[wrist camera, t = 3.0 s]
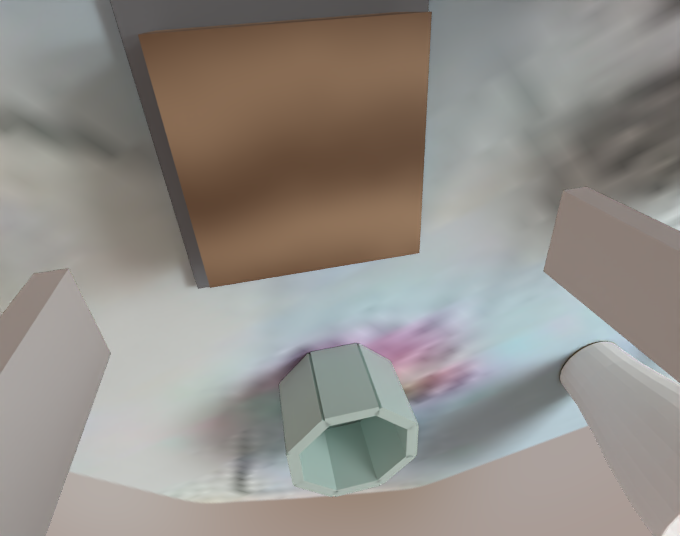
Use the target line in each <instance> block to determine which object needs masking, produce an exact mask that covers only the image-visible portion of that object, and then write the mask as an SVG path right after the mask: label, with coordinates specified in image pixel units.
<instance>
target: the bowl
mask: <svg viewBox="0 0 680 536" xmlns="http://www.w3.org/2000/svg"><path fill="white" fill-rule="evenodd" d="M310 353H311V355H310V354H307V355H306V356H305V357H304V358H303V359H302V360H301V361H300V362H299V363H298V364H297V365H296V366H295V367H294V368H293V369H292V370H291V371H290V372H289V374H288V375H287V376H286V377H285V378H284V379H283V380H282V381H281V382H280V383H279V393H280V402H281V411H282V420H283V429H284V438H285V447H286V456H287V460H288V465H289V469H290V474H291V478H292V483H293V485H294V486H295V487H298V488H302V489H305V490H309V491H312V492H316V493H319V494H323V495H326V496H330V497H333V496H335V497H337V496H341V495H345V494H349V493H353V492H357V491H361V490H365V489H369V488H373V487H377V486H380V484H384V483H385V482H386V481H388V480H389V479H390V478H391V477H392V476H394V475H395V474H396V473H397V472H398V471H400V470H401V469H402V468H403V467H404V466H406V465H407V464H408V463H409V462H410V461H412V460H413V459H414V458H415V456H417V442H418V427H419V425H418V422H417V420H416V418H415V415H414V413H413V411H412V409H411V406H410V404H409V402H408V400H407V397H406V395H405V393H404V390H403V388H402V386H401V384H400V381H399V379H398V377H397V374H396V372H395V370H394V368H393V365H392V363H391V361H390V360H388V359H386V358H385V357H383V356H381V355H379V354H377V353H375V352H374V351H372V350H370V349H368V348H366V347H364V346H363V345H361V344H358V345H357V344H356V343H354V344H349V345H344V346H339V347H334V348H329V349H323V350H318V351H313V352H310Z"/></svg>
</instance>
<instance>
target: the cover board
mask: <svg viewBox="0 0 680 536" xmlns="http://www.w3.org/2000/svg"><path fill="white" fill-rule="evenodd" d="M431 14H432V12H391V13H378V14H365V15H352V16H338V17H325V18H312V19H299V20H286V21H273V22H260V23H247V24H234V25H221V26H208V27H195V28H182V29H168V30H156V31H152V32H147V33H143V34H138V37H139V40H140V44H141V47H142V51H143V54H144V58H145V61H146V65H147V68H148V72H149V75H150V79H151V82H152V86H153V89H154V93H155V96H156V100H157V103H158V107H159V110H160V114H161V117H162V121H163V124H164V128H165V132H166V135H167V139H168V142H169V146H170V149H171V153H172V156H173V160H174V163H175V167H176V170H177V174H178V177H179V181H180V184H181V188H182V191H183V195H184V198H185V202H186V205H187V209H188V212H189V216H190V219H191V223H192V226H193V230H194V233H195V237H196V240H197V244H198V247H199V251H200V254H201V258H202V261H203V265H204V268H205V272H206V275H207V279H208V282H209V286H210V288H211V287H218V286H224V285H230V284H236V283H242V282H248V281H254V280H260V279H266V278H272V277H278V276H284V275H290V274H296V273H302V272H308V271H314V270H320V269H326V268H332V267H338V266H344V265H350V264H356V263H362V262H368V261H374V260H380V259H386V258H392V257H398V256H404V255H410V254H416V253H419V249H420V230H421V210H422V191H423V171H424V151H425V132H426V112H427V93H428V73H429V54H430V34H431Z"/></svg>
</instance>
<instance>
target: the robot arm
mask: <svg viewBox="0 0 680 536" xmlns="http://www.w3.org/2000/svg"><path fill="white" fill-rule="evenodd" d="M544 272H545V273H546V274H547V275H549V276H550V277H551V278H552V279H553V280H555V281H556V282H557V283H558V284H560V285H561V286H562V287H563V288H564V289H566V290H567V291H568V292H569V293H571V294H572V295H573V296H574V297H575V298H577V299H578V300H579V301H580V302H582V303H583V304H584V305H585V306H586V307H588V308H589V309H590V310H591V311H593V312H594V313H595V314H596V315H597V316H599V317H600V318H601V319H602V320H604V321H605V322H606V323H607V324H608V325H610V326H611V327H612V328H613V329H615V330H616V331H617V332H618V333H619V334H621V335H622V336H623V337H624V338H626V339H627V340H628V341H629V342H630V343H632V344H633V345H634V346H635V347H637V348H638V349H639V350H640V351H641V352H643V353H644V354H645V355H646V356H648V357H649V358H650V359H651V360H652V361H654V362H655V363H656V364H657V365H659V366H660V367H661V368H662V369H663V370H665V371H666V372H667V373H668V374H669V375H671V376H672V377H673V378H674V379H676V380H677V381H678V382H679V383H680V231H678V230H676V229H674V228H672V227H670V226H668V225H666V224H664V223H661V222H659V221H657V220H655V219H653V218H651V217H649V216H647V215H645V214H643V213H641V212H639V211H636V210H634V209H632V208H630V207H628V206H626V205H624V204H622V203H620V202H618V201H616V200H614V199H612V198H609V197H607V196H605V195H603V194H601V193H599V192H597V191H595V190H593V189H591V188H589V187H581V188H574V189H568V190H563V193H562V197H561V201H560V205H559V209H558V213H557V217H556V221H555V225H554V230H553V234H552V238H551V242H550V246H549V250H548V254H547V258H546V262H545V267H544ZM110 355H111V352H110V350H109V348H108V346H107V344H106V342H105V340H104V338H103V336H102V334H101V332H100V330H99V328H98V326H97V324H96V322H95V320H94V318H93V316H92V314H91V312H90V310H89V308H88V306H87V304H86V302H85V300H84V298H83V296H82V294H81V292H80V290H79V288H78V286H77V284H76V282H75V280H74V278H73V276H72V274H71V272H70V270H69V268H66V269H60V270H53V271H47V272H41V273H34V274H33V275H32V276H31V277H30V279H29V280H28V281H27V283H26V284H25V285H24V287H23V288H22V289H21V290H20V292H19V293H18V294H17V296H16V297H15V298H14V300H13V301H12V302H11V303H10V305H9V306H8V307H7V309H6V310H5V311H4V313H3V314H2V315H1V316H0V536H46V533H47V530H48V528H49V525H50V522H51V519H52V517H53V514H54V511H55V508H56V505H57V503H58V500H59V497H60V494H61V492H62V489H63V486H64V483H65V480H66V477H67V475H68V472H69V469H70V466H71V464H72V461H73V458H74V455H75V452H76V450H77V447H78V444H79V441H80V438H81V436H82V433H83V430H84V427H85V424H86V422H87V419H88V416H89V413H90V410H91V408H92V405H93V402H94V399H95V397H96V394H97V391H98V388H99V385H100V383H101V380H102V377H103V374H104V371H105V369H106V366H107V363H108V360H109V357H110Z"/></svg>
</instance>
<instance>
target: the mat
mask: <svg viewBox="0 0 680 536" xmlns="http://www.w3.org/2000/svg"><path fill="white" fill-rule="evenodd" d="M110 2H111V5H112V9H113V12H114V15H115V18H116V22H117V25H118V28H119V31H120V35H121V38H122V41H123V45H124V48H125V51H126V54H127V58H128V61H129V64H130V67H131V71H132V74H133V77H134V81H135V84H136V87H137V90H138V94H139V97H140V100H141V103H142V107H143V110H144V113H145V117H146V120H147V123H148V126H149V130H150V133H151V136H152V140H153V143H154V146H155V149H156V153H157V156H158V159H159V162H160V166H161V169H162V172H163V176H164V179H165V182H166V185H167V189H168V192H169V195H170V198H171V202H172V205H173V208H174V212H175V215H176V218H177V221H178V225H179V228H180V231H181V235H182V238H183V241H184V244H185V248H186V251H187V254H188V257H189V261H190V264H191V267H192V271H193V274H194V277H195V280H196V284H197V287H198V289H199V288H205V287H210V286H209V282H208V279H207V275H206V272H205V268H204V265H203V261H202V258H201V254H200V251H199V247H198V244H197V240H196V237H195V233H194V230H193V226H192V223H191V219H190V216H189V212H188V209H187V205H186V202H185V198H184V195H183V191H182V188H181V184H180V181H179V177H178V174H177V170H176V167H175V163H174V160H173V156H172V153H171V149H170V146H169V142H168V139H167V135H166V132H165V128H164V124H163V121H162V117H161V114H160V110H159V107H158V103H157V100H156V96H155V93H154V89H153V86H152V82H151V79H150V75H149V72H148V68H147V65H146V61H145V58H144V54H143V51H142V47H141V44H140V40H139V37H138V34H143V33H147V32H152V31H156V30H168V29H182V28H195V27H208V26H221V25H234V24H247V23H260V22H273V21H286V20H299V19H312V18H325V17H338V16H352V15H365V14H378V13H391V12H428V5H429V0H110Z"/></svg>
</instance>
